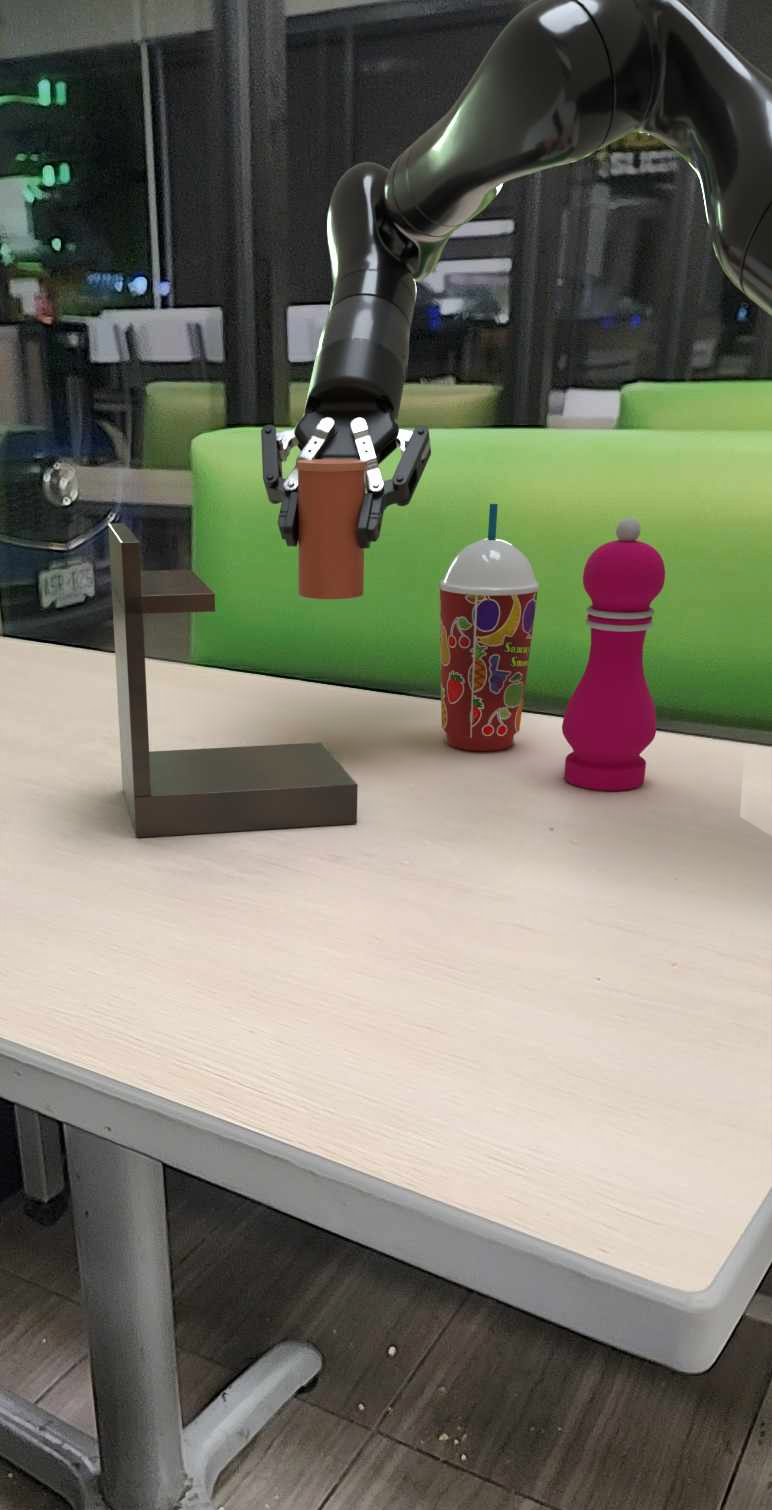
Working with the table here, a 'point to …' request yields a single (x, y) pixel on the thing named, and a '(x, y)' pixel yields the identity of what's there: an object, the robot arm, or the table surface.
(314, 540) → the tumbler
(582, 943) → the table surface
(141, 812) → the stand
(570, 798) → the table surface
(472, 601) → the smoothie
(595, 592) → the pepper mill
